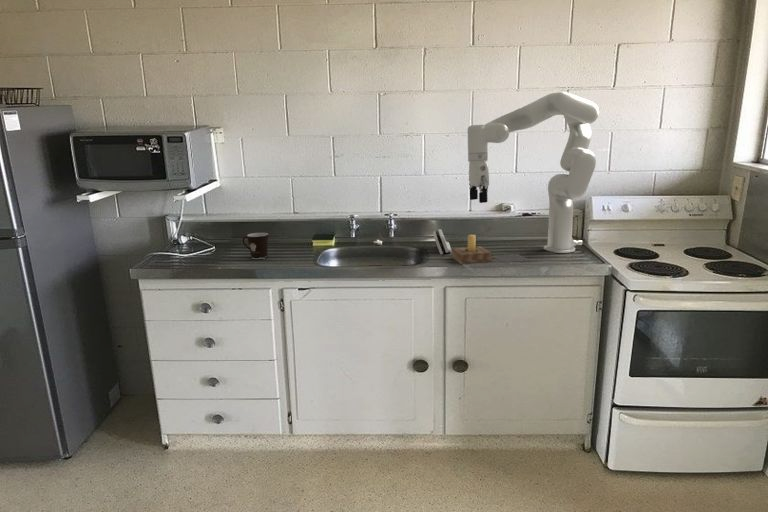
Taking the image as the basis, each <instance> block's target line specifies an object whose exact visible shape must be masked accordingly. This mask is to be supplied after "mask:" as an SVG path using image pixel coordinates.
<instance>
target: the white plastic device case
mask: <svg viewBox="0 0 768 512" xmlns="http://www.w3.org/2000/svg"><path fill="white" fill-rule="evenodd" d="M432 235H433V238H434V242H435V244H436V246H437V249H438V252H439V255H444V254H445V253H446V254H447V253H450V254H452V248H451V245H450V242H449V241H446V239H445V235H444V232H443V230H442V228H440V229H439V228H438V230H434V231H433V232H432Z"/></svg>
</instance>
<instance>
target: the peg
mask: <svg viewBox="0 0 768 512" xmlns="http://www.w3.org/2000/svg"><path fill="white" fill-rule="evenodd" d="M476 238H477V237H476V234H468V235H467V247H468V252H475V247H477V246H476V243H477V242H476V241H477V240H476Z"/></svg>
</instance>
